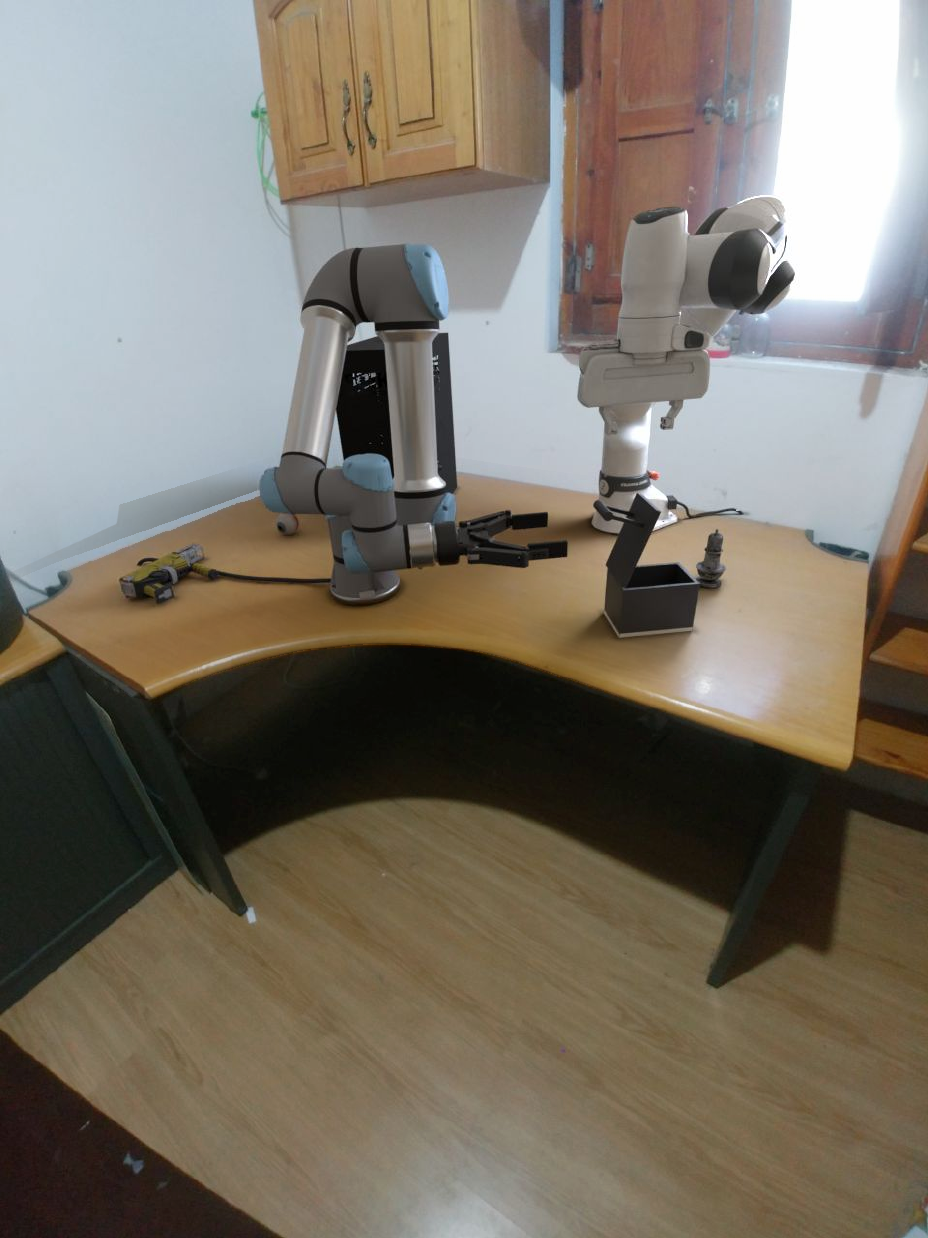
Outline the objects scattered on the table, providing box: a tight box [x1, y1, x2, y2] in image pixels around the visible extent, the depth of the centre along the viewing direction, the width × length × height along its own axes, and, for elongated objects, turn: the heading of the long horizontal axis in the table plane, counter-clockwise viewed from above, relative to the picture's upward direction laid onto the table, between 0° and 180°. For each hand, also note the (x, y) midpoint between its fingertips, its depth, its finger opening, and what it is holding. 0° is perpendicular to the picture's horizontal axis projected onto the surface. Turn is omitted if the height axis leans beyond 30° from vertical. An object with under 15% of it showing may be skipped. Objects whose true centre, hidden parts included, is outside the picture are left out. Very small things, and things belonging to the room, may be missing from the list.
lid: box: [592, 493, 661, 588], centre depth 106 cm, size 15×9×9 cm
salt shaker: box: [695, 528, 727, 589], centre depth 125 cm, size 6×6×12 cm
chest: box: [603, 561, 701, 639], centre depth 113 cm, size 14×9×10 cm
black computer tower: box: [335, 332, 458, 494], centre depth 169 cm, size 38×20×45 cm, turn 167°
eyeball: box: [275, 513, 300, 536], centre depth 163 cm, size 6×6×6 cm
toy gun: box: [118, 542, 219, 605], centre depth 141 cm, size 5×24×15 cm
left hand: (556, 533), depth 105 cm, fingers open, 13 cm apart
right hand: (638, 431), depth 97 cm, fingers open, 8 cm apart
